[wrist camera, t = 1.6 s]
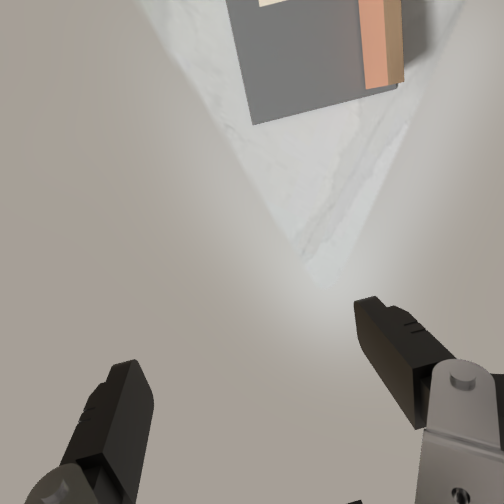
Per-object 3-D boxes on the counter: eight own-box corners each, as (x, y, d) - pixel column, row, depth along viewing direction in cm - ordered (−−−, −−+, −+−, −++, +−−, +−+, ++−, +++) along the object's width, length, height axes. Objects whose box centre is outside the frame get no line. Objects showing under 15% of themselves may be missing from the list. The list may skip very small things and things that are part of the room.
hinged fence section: (356, -13, 32) (384, -38, 26) (368, -16, 32) (399, -42, 26) (364, 89, 35) (391, 84, 30) (375, 86, 35) (404, 81, 30)
